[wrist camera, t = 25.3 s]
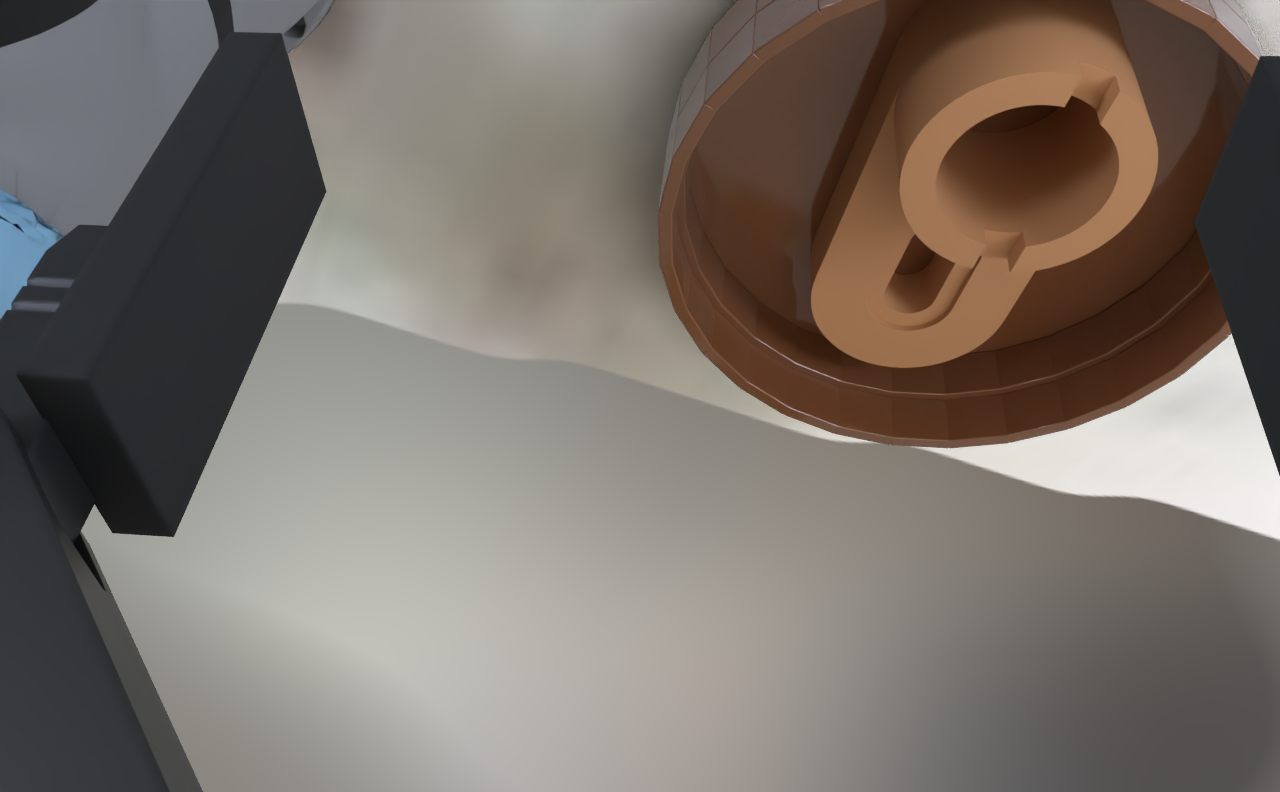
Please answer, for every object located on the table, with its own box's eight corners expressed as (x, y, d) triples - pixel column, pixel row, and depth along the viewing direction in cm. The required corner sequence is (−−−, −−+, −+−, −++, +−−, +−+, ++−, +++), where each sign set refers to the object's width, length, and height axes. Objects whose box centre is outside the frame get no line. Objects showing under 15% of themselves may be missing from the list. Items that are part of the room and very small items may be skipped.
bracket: (941, -63, 41) (958, 45, 37) (1165, -5, 42) (1209, 108, 37) (786, 302, 54) (784, 414, 50) (959, 340, 55) (972, 455, 51)
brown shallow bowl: (673, 348, 58) (663, 433, 54) (665, -122, 41) (650, -44, 37) (1160, 371, 56) (1185, 461, 52) (1365, -114, 39) (1422, -31, 35)
